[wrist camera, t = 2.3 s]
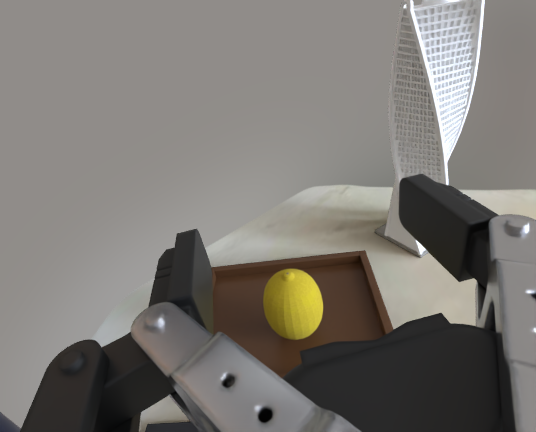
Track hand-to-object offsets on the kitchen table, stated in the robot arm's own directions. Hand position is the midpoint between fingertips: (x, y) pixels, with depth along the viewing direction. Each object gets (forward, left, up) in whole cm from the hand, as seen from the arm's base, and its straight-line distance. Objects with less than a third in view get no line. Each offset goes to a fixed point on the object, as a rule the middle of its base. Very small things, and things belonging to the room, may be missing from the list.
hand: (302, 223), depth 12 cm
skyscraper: (+14, +23, -21) cm, 34 cm away
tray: (-3, +12, -20) cm, 24 cm away
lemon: (-2, +10, -20) cm, 23 cm away
